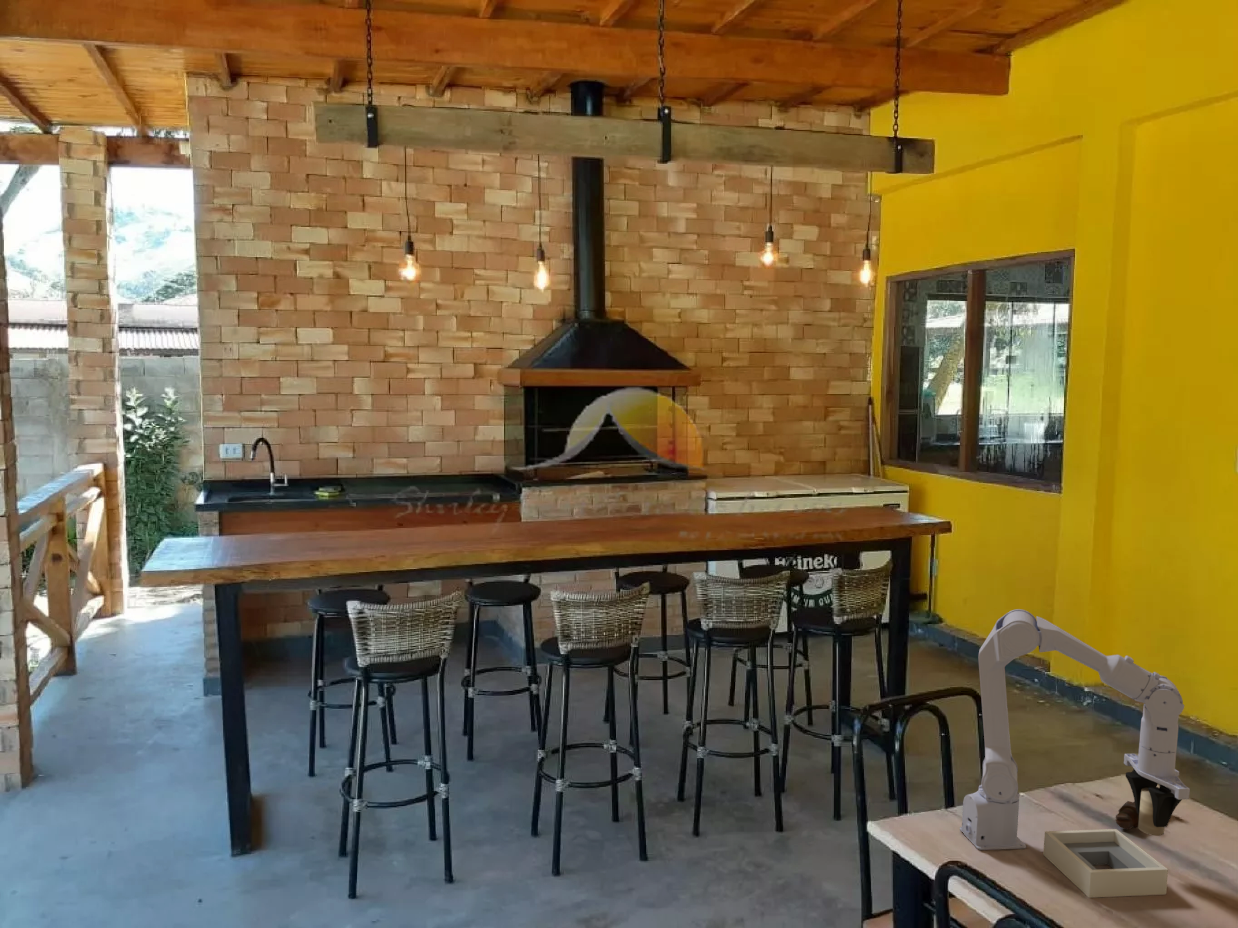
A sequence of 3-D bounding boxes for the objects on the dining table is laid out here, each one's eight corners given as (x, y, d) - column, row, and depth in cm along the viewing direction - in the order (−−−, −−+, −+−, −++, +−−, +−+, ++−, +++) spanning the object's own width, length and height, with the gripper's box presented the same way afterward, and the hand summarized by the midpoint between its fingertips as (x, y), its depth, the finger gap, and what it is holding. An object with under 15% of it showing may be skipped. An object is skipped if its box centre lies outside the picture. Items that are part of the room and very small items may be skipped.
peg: (1148, 835, 162) (1151, 798, 162) (1133, 824, 166) (1136, 787, 166) (1169, 835, 163) (1172, 797, 162) (1153, 824, 167) (1156, 787, 166)
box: (1088, 897, 156) (1090, 872, 155) (1043, 854, 170) (1044, 831, 169) (1166, 894, 157) (1168, 869, 157) (1114, 852, 171) (1116, 828, 171)
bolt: (1117, 838, 180) (1149, 813, 189) (1142, 835, 176) (1173, 810, 186) (1103, 808, 182) (1135, 785, 191) (1128, 805, 178) (1159, 781, 187)
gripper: (1208, 763, 156) (1202, 839, 157) (1151, 730, 170) (1145, 800, 172) (1170, 764, 155) (1163, 840, 157) (1115, 731, 170) (1110, 801, 171)
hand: (1151, 819), depth 164 cm, fingers closed on peg, 4 cm apart
